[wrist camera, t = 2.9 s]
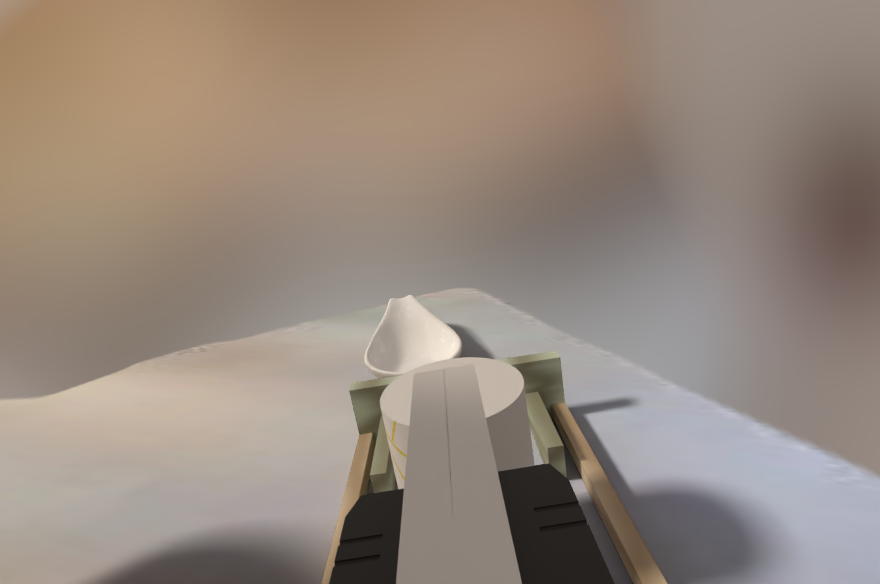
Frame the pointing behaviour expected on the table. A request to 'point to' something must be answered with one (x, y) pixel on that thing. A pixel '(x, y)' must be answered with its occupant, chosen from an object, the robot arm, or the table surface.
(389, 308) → the spoon rest
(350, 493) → the wooden tray frame
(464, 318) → the table surface
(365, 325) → the table surface
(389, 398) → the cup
